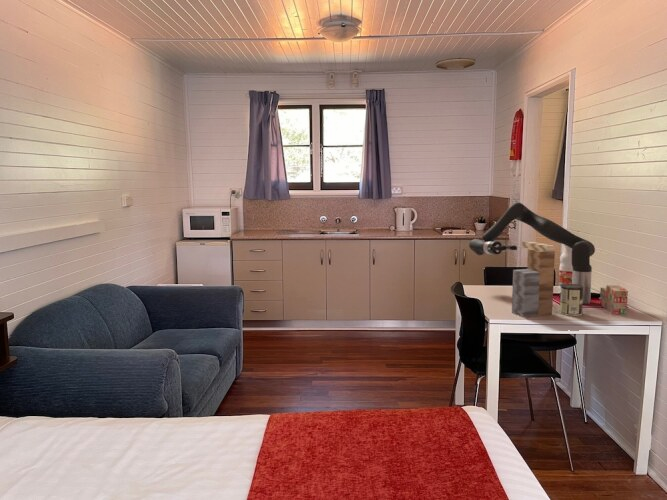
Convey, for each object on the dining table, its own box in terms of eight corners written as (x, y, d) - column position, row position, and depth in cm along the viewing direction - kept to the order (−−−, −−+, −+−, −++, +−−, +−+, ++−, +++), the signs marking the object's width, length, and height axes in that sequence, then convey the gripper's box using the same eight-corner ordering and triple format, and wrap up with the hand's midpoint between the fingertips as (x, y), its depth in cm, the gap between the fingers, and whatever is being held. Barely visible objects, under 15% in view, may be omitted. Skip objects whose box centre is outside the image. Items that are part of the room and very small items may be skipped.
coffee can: (571, 310, 263) (573, 283, 261) (586, 315, 253) (588, 286, 251) (554, 311, 260) (556, 284, 258) (569, 316, 250) (570, 288, 249)
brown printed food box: (599, 304, 275) (600, 281, 273) (612, 304, 273) (613, 281, 272) (612, 314, 254) (614, 290, 252) (626, 315, 253) (628, 290, 251)
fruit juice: (578, 290, 309) (581, 243, 305) (569, 292, 304) (571, 245, 300) (564, 287, 317) (566, 242, 313) (555, 289, 312) (557, 243, 308)
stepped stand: (552, 315, 254) (554, 251, 250) (523, 317, 250) (526, 252, 246) (539, 310, 264) (541, 248, 259) (511, 312, 260) (513, 250, 255)
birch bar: (554, 251, 247) (554, 245, 247) (546, 252, 246) (547, 246, 246) (528, 246, 266) (528, 241, 266) (521, 247, 266) (521, 241, 265)
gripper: (481, 241, 293) (497, 242, 278) (503, 240, 297) (520, 241, 281) (481, 254, 293) (498, 255, 278) (503, 253, 297) (521, 254, 281)
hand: (509, 248), depth 279 cm, fingers open, 8 cm apart
